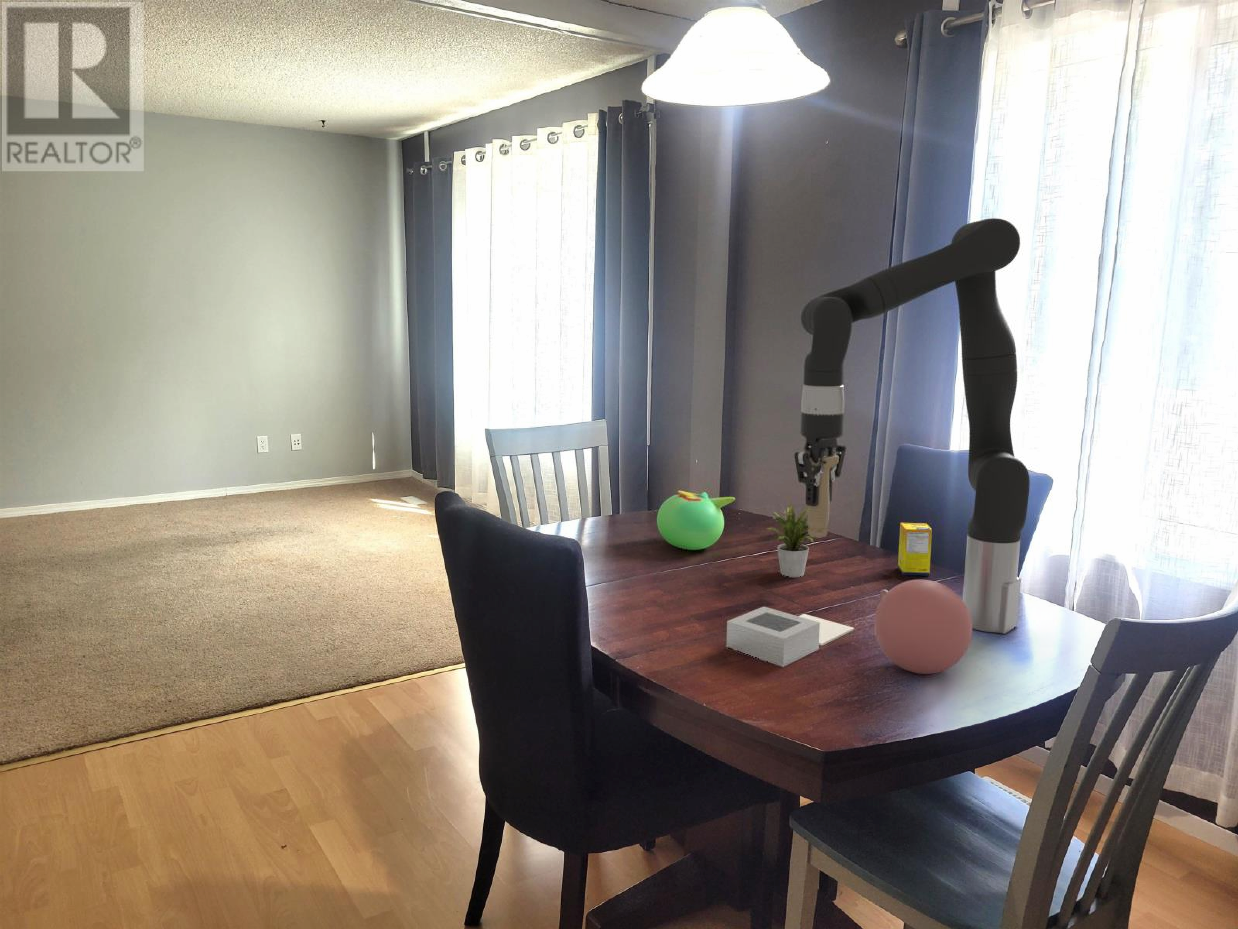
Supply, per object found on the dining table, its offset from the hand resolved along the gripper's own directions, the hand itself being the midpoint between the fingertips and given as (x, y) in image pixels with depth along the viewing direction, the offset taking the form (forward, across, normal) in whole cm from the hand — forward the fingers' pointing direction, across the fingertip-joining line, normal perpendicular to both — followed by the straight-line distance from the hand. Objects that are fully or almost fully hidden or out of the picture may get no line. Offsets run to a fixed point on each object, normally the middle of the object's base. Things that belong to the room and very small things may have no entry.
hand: (818, 503), depth 164 cm
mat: (+24, 0, 0) cm, 24 cm away
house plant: (+25, +26, +22) cm, 42 cm away
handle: (+6, 0, 0) cm, 6 cm away
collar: (+24, -13, 0) cm, 28 cm away
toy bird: (+25, +28, +53) cm, 65 cm away
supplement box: (+25, +48, +4) cm, 54 cm away
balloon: (+25, -2, -21) cm, 32 cm away
